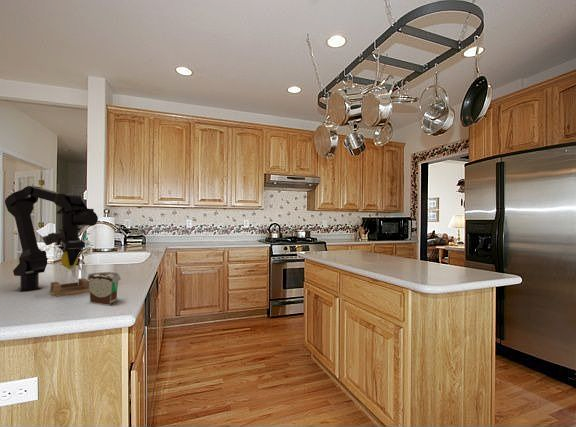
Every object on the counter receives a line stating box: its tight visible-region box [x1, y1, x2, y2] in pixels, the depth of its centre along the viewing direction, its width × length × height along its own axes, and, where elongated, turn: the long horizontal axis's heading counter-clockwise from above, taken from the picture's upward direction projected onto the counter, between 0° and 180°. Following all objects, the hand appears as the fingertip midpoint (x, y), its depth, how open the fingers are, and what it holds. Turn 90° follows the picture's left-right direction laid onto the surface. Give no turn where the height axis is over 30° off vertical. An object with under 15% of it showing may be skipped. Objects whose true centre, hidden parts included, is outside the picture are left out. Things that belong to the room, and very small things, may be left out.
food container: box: [86, 271, 121, 306], centre depth 107 cm, size 12×6×10 cm, turn 71°
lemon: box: [60, 251, 79, 270], centre depth 119 cm, size 6×6×8 cm
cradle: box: [49, 277, 89, 297], centre depth 119 cm, size 9×12×4 cm
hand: (69, 264), depth 119 cm, fingers closed on lemon, 5 cm apart
